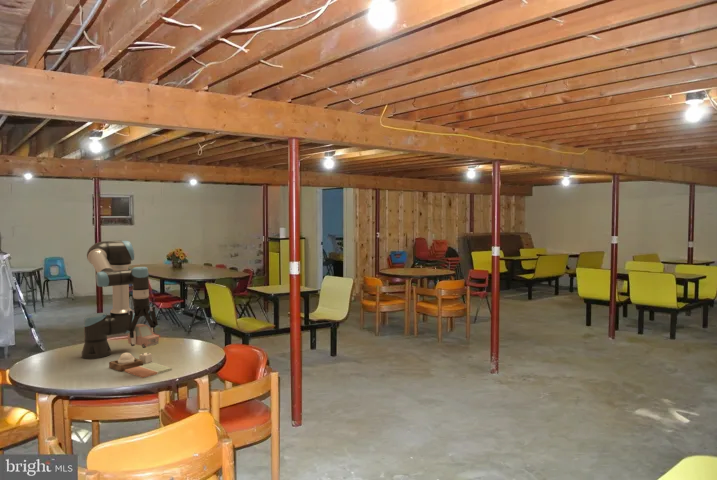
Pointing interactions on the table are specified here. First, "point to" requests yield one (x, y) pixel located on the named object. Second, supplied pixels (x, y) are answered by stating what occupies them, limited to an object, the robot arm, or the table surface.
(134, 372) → the board
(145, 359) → the die
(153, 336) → the toy car
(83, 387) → the table surface
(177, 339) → the table surface
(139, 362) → the dome housing
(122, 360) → the dome
